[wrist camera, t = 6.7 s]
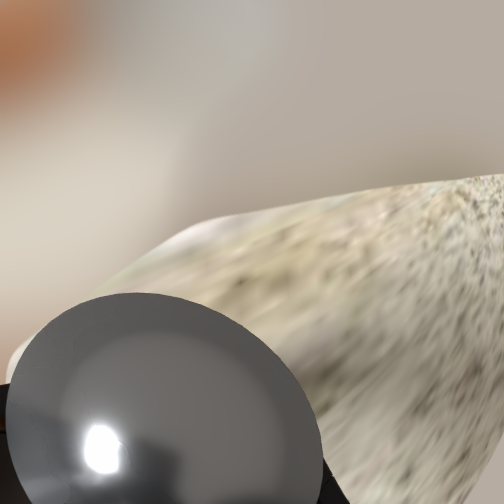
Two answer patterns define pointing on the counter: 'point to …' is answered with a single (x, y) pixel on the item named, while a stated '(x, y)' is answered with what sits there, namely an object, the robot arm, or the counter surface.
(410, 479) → the counter surface
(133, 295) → the steel weight
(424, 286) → the counter surface
